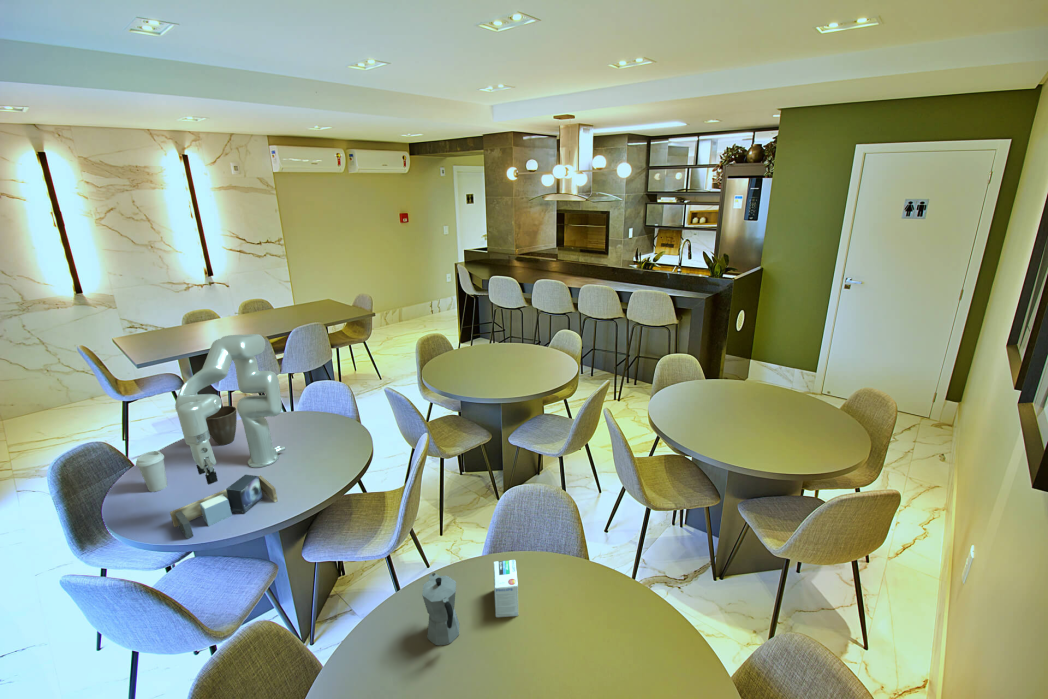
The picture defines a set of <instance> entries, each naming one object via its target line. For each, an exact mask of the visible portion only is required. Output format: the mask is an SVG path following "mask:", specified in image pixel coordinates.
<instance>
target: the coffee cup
mask: <svg viewBox="0 0 1048 699" xmlns="http://www.w3.org/2000/svg"><path fill="white" fill-rule="evenodd" d="M164 459H165V455H164V454H163V453H162V452H161V451H159V450H155V451H154V450H153V451H148V452H145V453H143V454H141V455H139V456H138V457H137V458H136V462H135V466H137V467H138V469H139V471H140V473H141V476H142V478H143V480H144V483H145V485H146V488H147V489H148V492H150V493H155V492H160V491H163V490H164V489H167V487H168V479H167V472H166V466H165V461H164Z"/></svg>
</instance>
